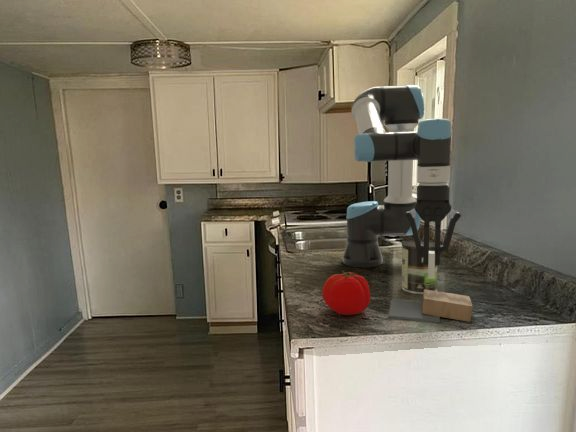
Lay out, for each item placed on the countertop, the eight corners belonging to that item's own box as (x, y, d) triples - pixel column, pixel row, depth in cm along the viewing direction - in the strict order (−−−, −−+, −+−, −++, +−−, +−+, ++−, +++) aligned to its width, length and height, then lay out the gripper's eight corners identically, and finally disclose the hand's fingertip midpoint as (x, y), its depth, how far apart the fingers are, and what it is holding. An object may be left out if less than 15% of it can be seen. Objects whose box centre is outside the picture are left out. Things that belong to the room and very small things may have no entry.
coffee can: (444, 290, 113) (446, 244, 111) (419, 297, 108) (420, 249, 106) (418, 281, 122) (419, 238, 120) (394, 287, 117) (394, 242, 115)
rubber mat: (392, 300, 106) (392, 298, 106) (438, 304, 102) (438, 302, 102) (388, 317, 95) (388, 315, 95) (439, 322, 91) (439, 320, 91)
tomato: (371, 322, 92) (371, 281, 91) (321, 321, 94) (320, 280, 93) (369, 302, 105) (369, 265, 104) (324, 301, 107) (324, 265, 106)
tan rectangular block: (423, 289, 100) (469, 296, 97) (422, 303, 101) (467, 310, 97) (423, 298, 94) (472, 306, 90) (422, 313, 94) (470, 322, 91)
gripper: (404, 185, 91) (403, 279, 94) (463, 184, 87) (460, 283, 90) (405, 183, 98) (405, 271, 101) (460, 182, 94) (458, 274, 97)
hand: (431, 277), depth 96 cm, fingers closed
